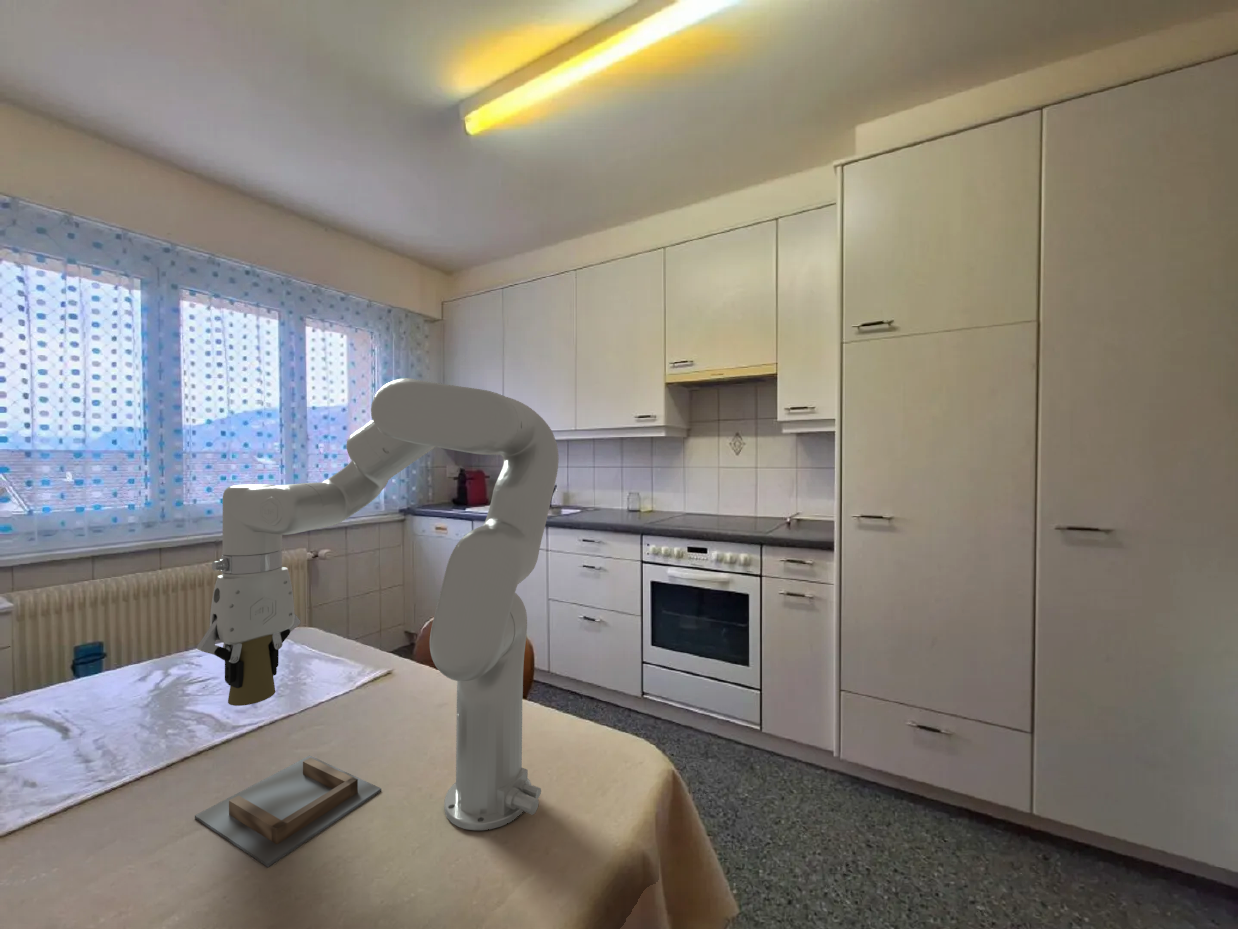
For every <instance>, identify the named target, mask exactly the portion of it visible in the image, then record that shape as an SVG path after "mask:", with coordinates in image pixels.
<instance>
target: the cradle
mask: <svg viewBox="0 0 1238 929" xmlns="http://www.w3.org/2000/svg"><path fill="white" fill-rule="evenodd" d="M380 791H381V792H382V788H381V787H380V786H377V785H375V784H372V783H370V782H368V781H367V780H364V779H362V778H359V777H357V776H356V775H353V774H351V773H349V772H347V771H344V770H342V769H340V768H338V767H336V766H333V765H332V764H330V763H328V762H324V761H322V760H320V759H318V758H316V757H315V756H312V755H308V756H306V757H304V758H302V759H300V760H298V761H296V762H293V764H291V765H289V766H287V767H285V768H283V769H280V770H279V771H278V772H275V773H273V774H272V775H269V776H267V777H266V778H263V779H262V780H260V781H258V782H256V783H254V784H252V785H250V786H248V787H246V788H244V789H242V790H240V791H239V792H237V793H235V794H233V795H231V796H229V797H227V798H225V799H223V800H222V801H220V802H218V803H216V804H214V805H212V806H211V807H208V808H206V809H205V810H202V811H201V812H199V813H197V814H195V815H194V819H195V820H197V821H198V822H199V823H201V824H202V825H204V826H205V827H207V828H209V829H210V830H212V831H213V832H215V833H216V834H217V835H219V836H220V837H222V838H223V839H225V840H227V841H228V842H230V843H231V844H232V845H234V846H235V847H237V848H239V849H240V850H242V851H243V852H244V853H246V854H247V855H249V856H250V857H251V858H253V859H254V860H257V862H259V863H261V864H262V865H264V866H265V867H267V868H268V867H270V866H272V865H273V864H275V863H276V862H278V861H279V860H281V859H282V858H284V857H285V856H286V855H288V854H289V853H291V852H294V850H296V849H297V848H298V847H300V846H302V845H303V844H305V843H306V842H307V841H309V840H310V839H312V838H313V837H315V836H316V835H318V834H320V833H321V832H322V831H324V830H326V829H327V828H328V827H330V826H331V825H333V824H335V823H336V822H338V821H339V820H340V819H342V818H344V817H345V816H346V815H347V814H349V813H351V812H353V810H354V811H355V809H357V808H358V807H359V806H360V807H361V805H363V804H364V803H367V801H369V800H370V799H372V798H373V797H374V796H376V795H378V794H379V793H381V792H380ZM377 793H378V794H377ZM375 794H376V795H375ZM371 797H372V798H371Z"/></svg>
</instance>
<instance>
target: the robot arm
mask: <svg viewBox="0 0 1238 929" xmlns="http://www.w3.org/2000/svg"><path fill="white" fill-rule="evenodd" d="M370 413H371V420H370V421H369V422H367V423H366V424H365V425H363V426H362V427H360V428H358V429H357V430H356V431H354V432H353V433H351V435H349V437H348V439H347V440H346V444H345V446H346V451H347V454H348V456H349V459H350V460H351V461H350V462H349V463H348V464H347V465H346V466H344V467H343V468H342V469H341V470H339V471H338V472H336V473H335V474H333V475H332V476H330V477H329V478H327V479H325V480H324V481H321V482H320V481H318V482H303V483H291V484H280V485H275V484H269V483H268V484H264V483H261V484H260V483H258V484H257V483H253V484H252V483H250V484H247V483H246V484H235V485H234V484H233V485H231V486H228V487H227V488H225V490H224V491H223V495H222V553H221V555H220V559H219V560H218V561H217V560H215V561H213V562H212V564H211V570H213V571H214V572H215V571H220V572H221V574H220V575H217V577H216V581H215V584H214V588H213V592H212V599H211V606H210V614H209V615H210V616H209V627H208V629H207V631H206V632H205V633H204V635H203V637H202V639H200V641H199V643H198V644H197V646H196V649H197V651H199V652H202V653H207V654H209V655H214V656H216V657H217V658H219V659H221V660H222V661H224V681H225V683H226V684H227V685H228V686H229V687H230V686H232V687H235V688H240V687H242V684H243V661H240V653H241V648H242V643H243V642H247V641H250V640H254V639H257V638H260V637H264V636H268V635H271V634H273V637H272V641H271V642H270V643H269V645H268V647H269V653H270V659H271V669H272V674H273V677H274V676H276V675H277V672H278V671H277V670H278V667H279V653H280V652H279V650H280V649H281V648H282V647H283V643H284V641H285V640H286V639H287V638H288V637H289V636H290V634H291V632H293V631H294V630H295V629H297V627H298V626H300V624H301V623H302V622H301V620H300V618H299V617H298V616H297V615H296V614H295V601H294V599H295V598H294V591H293V585H292V581H291V580H292V579H291V576H290V571H289V569H288V567H285V566H283V536H287V535H294V534H295V535H296V534H299V533H303V532H304V533H305V532H308V531H313V530H318V529H324V528H329V527H332V526H335V525H337V524H340V523H341V522H344V521H345V520H348V519H349V518H350V517H351V516H353V515H355V514H356V513H357V512H359V511H361V510H362V509H363V508H365V507H366V506H368V505H369V504H370V503H372V502H373V501H374V500H376V498H377V497H379V495H380V494H381V493H382V491H383V490H384V489H385V488H386V486H387V484H388V482H389V481H390V480H391V479H392V478H393V477H395V476H396V475H397V474H399V473H400V472H401V471H403V470H404V469H406V468H407V467H409V466H410V465H411V464H413V463H415V462H416V461H417V460H419V459H421V457H423V456H425V455H426V454H428V453H430V451H432V450H434V449H435V448H440V449H445V450H452V451H458V452H464V453H470V454H473V455H474V454H475V455H482V456H483V455H484V456H485V455H486V456H487V455H488V456H489V455H490V456H501V457H502V467H501V470H500V473H499V474H498V477H497V479H496V482H495V484H494V487H493V491H492V496H491V501H490V504H489V508H488V512H487V515H486V518H485V520H484V523H483V524H482V525H481V526H477V527H476V528H474V529H472V530H470V531H469V532H468V533H466V534H465V535H464V536H463V537H461V539H459V541H458V542H457V543H456V545H455V547H454V548H453V550H452V552H451V554H450V557H449V559H448V561H447V565H446V567H445V568H446V569H445V572H444V576H443V580H442V584H441V588H440V592H439V595H438V599H437V600H438V601H437V604H436V608H435V612H434V616H433V619H432V620H433V621H432V624H431V629H430V634H429V635H430V636H429V651H430V656H431V660H432V661H433V662H432V663H433V664H434V666H435V667H436V669H437V670H438V671H439V672H440V673H441V674H442V675H443V676H445V677H446V678H447V679H450V680H452V681H456V726H455V727H456V729H455V730H456V735H455V736H456V739H455V742H456V743H455V749H456V750H455V752H456V753H455V782H454V783H453V784H452V785H451V786H450V788H449V789H448V790H447V792H446V794H445V797H444V804H443V807H444V808H443V809H444V814H445V816H446V818H447V819H448V821H450V823H451V824H453V825H454V826H456V827H459V828H461V829H463V830H468V831H487V830H488V829H489V830H493V829H497V828H501V827H503V826H505V825H507V823H508V824H509V823H511V822H513V821H515V820H516V819H517V818H518V817H517V816H519V815H520V814H521V813H522V812H523V811H524V812H523V813H526V814H529V815H532V816H533V815H534V814H536V812H537V810H538V807H539V798H540V797H541V793H542V788H541V787H539V786H536V785H532V783H531V780H530V779H529V776H528V775H529V774H528V769H527V768H524V767H523V695H524V693H523V692H524V686H523V685H524V665H525V664H524V661H525V653H526V652H525V651H526V641H527V633H528V614H527V610H526V605H525V604H524V601H523V599H522V598H521V597H520V596H519V594H517V593H516V591H517V587H518V585H520V584H521V583H522V582H523V581H524V580H525V579H526V578H528V577H529V575H530V574H531V573H532V572H533V571H534V569H535V568H536V565H537V562H538V559H539V554H540V550H541V544H542V540H543V537H544V532H545V529H546V528H545V527H546V524H547V519H548V516H549V512H550V507H551V506H550V505H551V502H552V497H553V494H554V489H555V485H556V480H557V476H558V471H559V470H558V469H559V458H560V456H559V447H558V443H557V440H556V438H555V435H554V433H553V431H552V429H551V427H550V426H549V424H548V423H547V422H546V421H545V419H544V418H543V417H541V415H540V414H539V413H537V412H536V411H535V410H534V409H532V408H531V407H529V406H528V405H527V404H525V403H524V402H521V401H519V400H516V399H514V398H511V397H509V396H505V395H503V394H500V393H497V392H494V391H491V390H487V389H486V390H485V389H483V388H482V389H481V388H480V389H479V388H475V387H467V386H460V385H454V384H452V385H451V384H447V383H438V382H433V381H427V380H422V379H421V380H420V379H416V378H415V379H414V378H410V377H409V378H408V377H407V378H405V377H403V378H396V379H394V380H392V381H390V382H387V383H385V384H384V385H383V386H381V387H380V389H378V391H376V394H375V395H374V397H373V399H372V402H371V408H370ZM216 641H220V642H221V643H223V644H222V646H219V645H216ZM523 813H522V814H523ZM522 814H521V815H522ZM521 815H520V816H521ZM520 816H519V817H520ZM516 817H517V818H516ZM515 818H516V819H515ZM514 819H515V820H514ZM512 820H513V821H512ZM489 830H488V831H489Z"/></svg>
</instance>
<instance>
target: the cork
mask: <svg viewBox="0 0 1238 929" xmlns="http://www.w3.org/2000/svg"><path fill="white" fill-rule="evenodd" d="M272 637H273V634H271V635H268V636H264V637H260V638H257V639H254V640H250V641H247V642H243V643H242V648H241V653H240V661H243V684H242V687H240V688H235V687H232V686H230V685H229V693H228V698H227V704H228V705H230V706H235V707H237V706H238V707H241V706H243V707H244V706H249V705H254V704H257V703H261V702H264V701H266V700H267V699H270V698H272V696H274V695H275V694H276V685H275V680H274V676H273V674H272V669H271V659H270V653H269V647H268V645H269V643H270V642H271V641H272Z"/></svg>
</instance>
